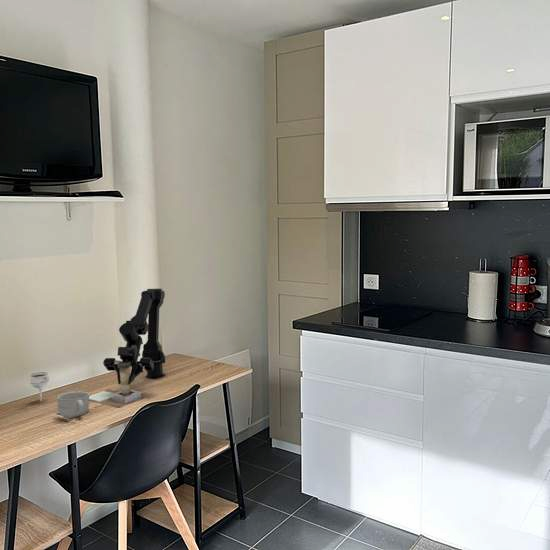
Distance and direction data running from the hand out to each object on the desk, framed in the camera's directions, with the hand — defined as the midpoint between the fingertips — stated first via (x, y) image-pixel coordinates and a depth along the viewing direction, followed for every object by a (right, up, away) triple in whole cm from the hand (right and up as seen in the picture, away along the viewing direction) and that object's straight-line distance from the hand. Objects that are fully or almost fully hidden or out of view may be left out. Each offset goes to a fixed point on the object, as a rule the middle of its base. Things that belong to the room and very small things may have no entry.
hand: (124, 383), depth 209 cm
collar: (0, -6, +2) cm, 7 cm away
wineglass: (-33, -9, +3) cm, 34 cm away
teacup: (-14, -10, -12) cm, 21 cm away
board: (-5, -8, +4) cm, 10 cm away
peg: (0, -6, +2) cm, 7 cm away
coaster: (-10, -6, +6) cm, 13 cm away
